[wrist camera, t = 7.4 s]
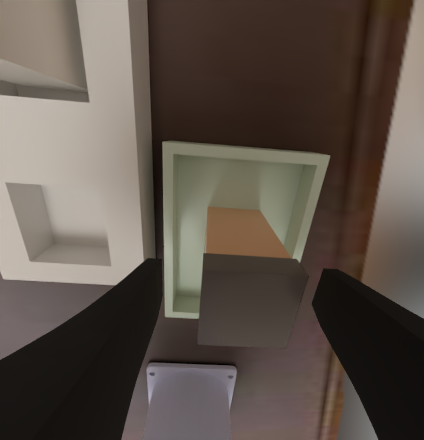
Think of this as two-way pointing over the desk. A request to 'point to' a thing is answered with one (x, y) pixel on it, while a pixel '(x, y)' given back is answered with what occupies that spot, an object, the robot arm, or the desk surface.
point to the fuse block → (82, 160)
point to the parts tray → (230, 204)
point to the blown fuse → (247, 282)
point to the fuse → (41, 45)
